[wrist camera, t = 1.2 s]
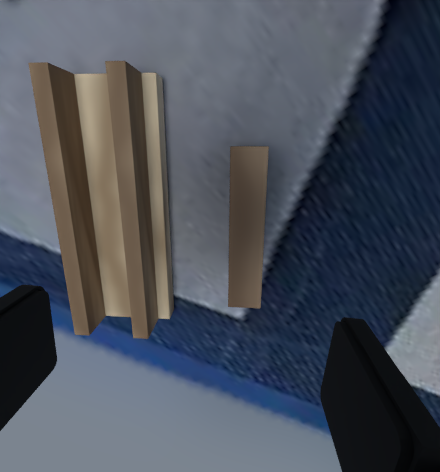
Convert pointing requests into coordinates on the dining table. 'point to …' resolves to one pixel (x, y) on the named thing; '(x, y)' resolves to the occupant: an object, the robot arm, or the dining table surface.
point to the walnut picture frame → (247, 224)
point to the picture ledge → (108, 191)
